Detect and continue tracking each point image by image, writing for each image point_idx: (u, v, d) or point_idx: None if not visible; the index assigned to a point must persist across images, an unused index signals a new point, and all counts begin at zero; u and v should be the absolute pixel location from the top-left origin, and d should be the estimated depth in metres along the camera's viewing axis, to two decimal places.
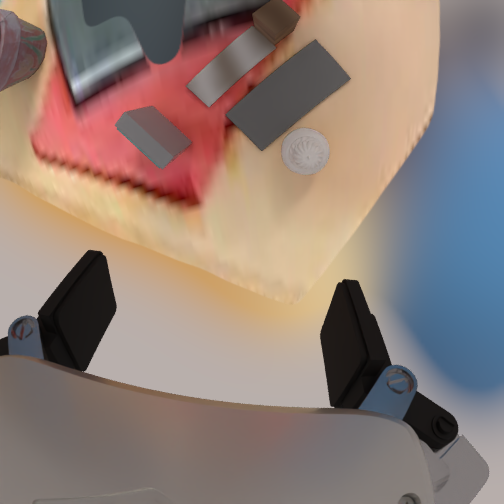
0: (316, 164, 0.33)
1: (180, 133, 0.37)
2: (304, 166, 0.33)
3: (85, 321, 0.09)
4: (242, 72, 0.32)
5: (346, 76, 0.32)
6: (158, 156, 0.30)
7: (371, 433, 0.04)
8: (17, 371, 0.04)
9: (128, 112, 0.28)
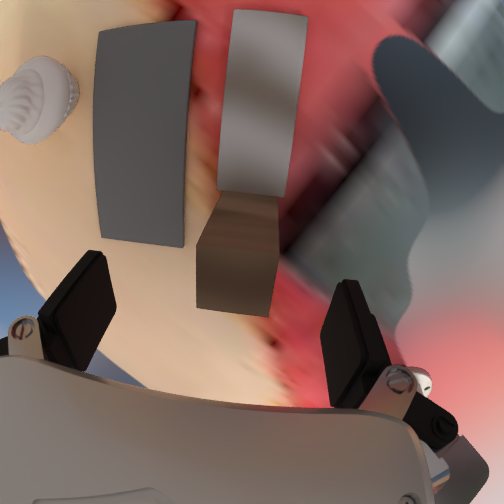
0: None
1: None
2: None
3: (85, 321, 0.09)
4: (229, 104, 0.16)
5: (107, 235, 0.21)
6: None
7: (371, 433, 0.04)
8: (17, 371, 0.04)
9: None
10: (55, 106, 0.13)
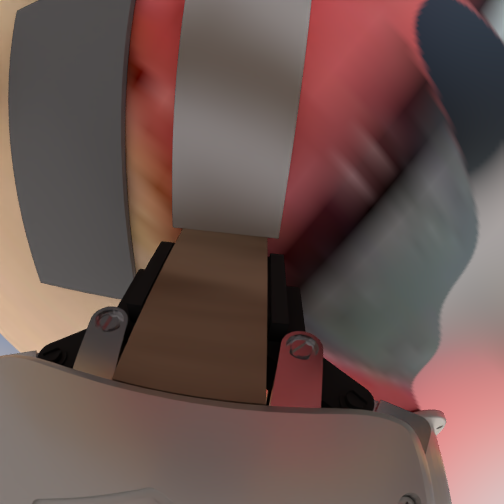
0: None
1: None
2: None
3: None
4: (186, 90, 0.09)
5: (46, 281, 0.14)
6: None
7: (371, 433, 0.04)
8: (17, 371, 0.04)
9: None
10: None
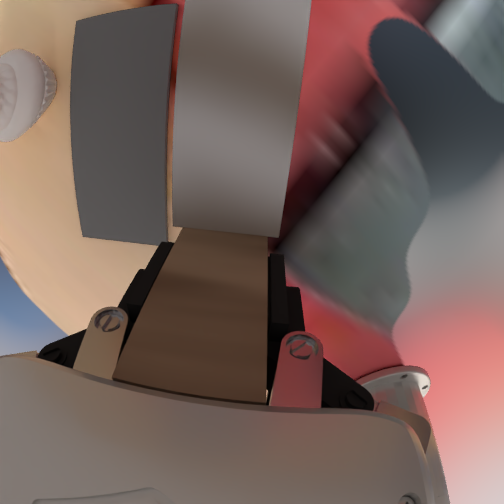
0: None
1: None
2: None
3: None
4: (186, 89, 0.09)
5: (88, 234, 0.19)
6: None
7: (371, 433, 0.04)
8: (17, 371, 0.04)
9: None
10: (29, 100, 0.11)
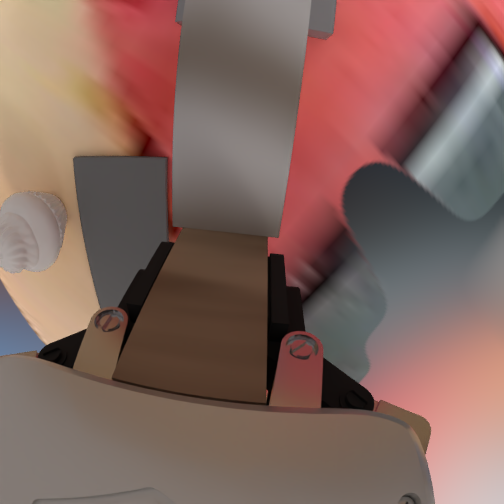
0: None
1: None
2: None
3: None
4: (186, 89, 0.09)
5: None
6: None
7: (371, 433, 0.04)
8: (17, 371, 0.04)
9: None
10: (50, 251, 0.16)
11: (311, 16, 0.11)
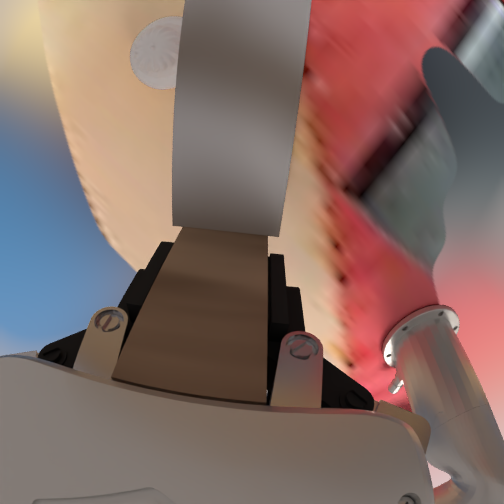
0: (136, 50, 0.15)
1: None
2: (147, 33, 0.14)
3: None
4: (186, 88, 0.09)
5: None
6: None
7: (371, 433, 0.04)
8: (17, 371, 0.04)
9: None
10: None
11: None
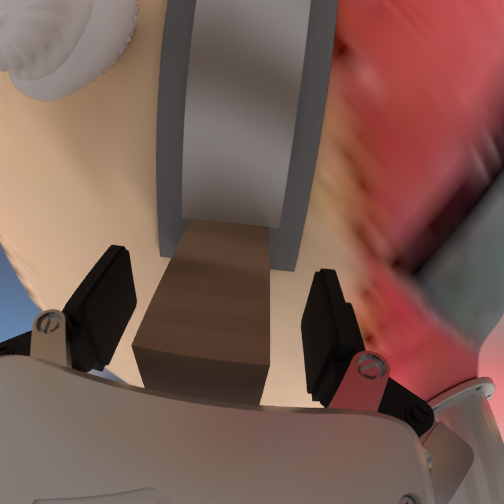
0: None
1: None
2: None
3: (110, 315, 0.09)
4: (196, 92, 0.10)
5: (171, 253, 0.15)
6: None
7: (371, 433, 0.04)
8: (17, 372, 0.04)
9: None
10: (111, 26, 0.06)
11: None
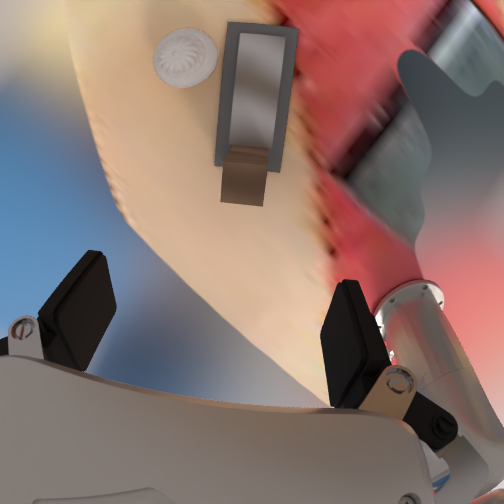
0: (160, 55, 0.19)
1: None
2: (170, 42, 0.19)
3: (85, 321, 0.09)
4: (237, 91, 0.26)
5: (220, 164, 0.30)
6: None
7: (371, 433, 0.04)
8: (17, 372, 0.04)
9: None
10: (211, 64, 0.22)
11: None
